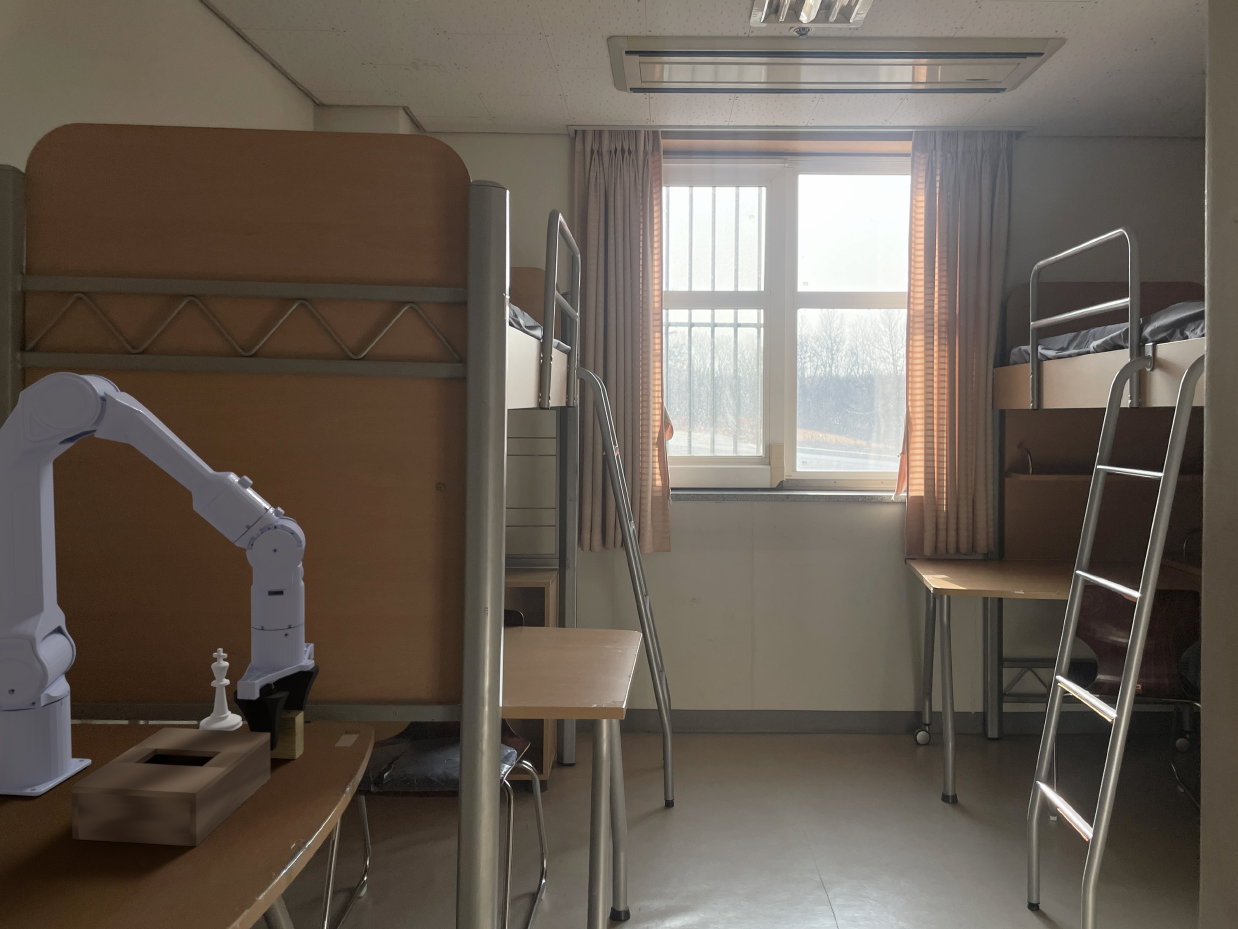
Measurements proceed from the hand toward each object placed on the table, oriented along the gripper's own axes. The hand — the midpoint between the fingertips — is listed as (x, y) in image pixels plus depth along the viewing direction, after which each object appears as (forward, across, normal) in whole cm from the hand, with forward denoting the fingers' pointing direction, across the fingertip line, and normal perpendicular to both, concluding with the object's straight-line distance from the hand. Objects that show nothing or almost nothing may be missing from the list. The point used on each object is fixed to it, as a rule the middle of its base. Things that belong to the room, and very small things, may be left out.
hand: (278, 738), depth 96 cm
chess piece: (+2, +7, +11) cm, 13 cm away
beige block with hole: (+2, -13, +4) cm, 14 cm away
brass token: (+2, 0, 0) cm, 2 cm away
